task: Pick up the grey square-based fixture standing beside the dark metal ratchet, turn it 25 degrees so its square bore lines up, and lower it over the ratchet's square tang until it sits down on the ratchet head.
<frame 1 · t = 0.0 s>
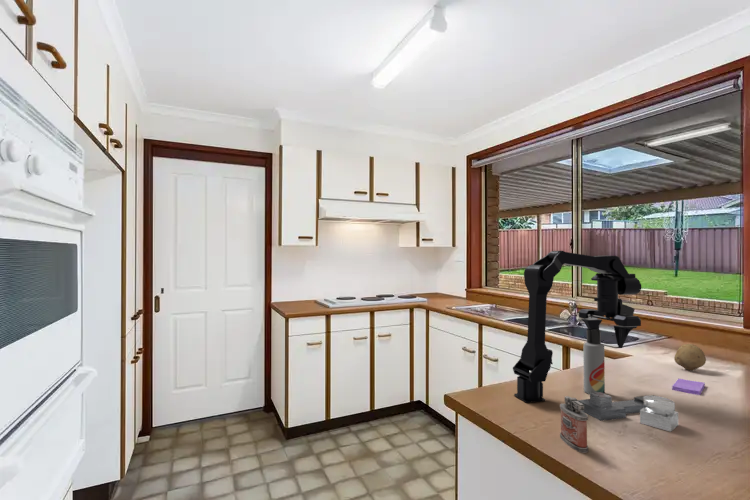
hand: (607, 344, 123), 15 cm above the table, fingers open, 9 cm apart
potato: (691, 371, 146), on the table
grey square-based fixture: (659, 423, 98), on the table
sponges: (688, 390, 126), on the table
lotion bottle: (594, 393, 121), on the table
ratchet: (600, 413, 105), on the table
lighter: (573, 444, 87), on the table
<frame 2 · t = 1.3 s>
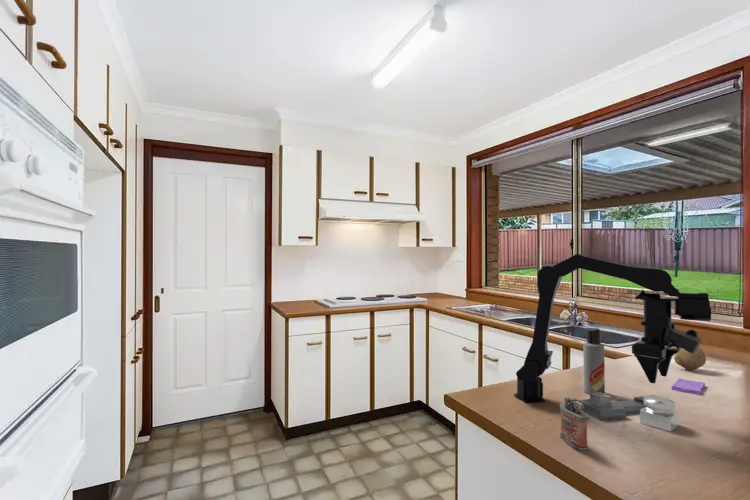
hand: (658, 379, 99), 11 cm above the table, fingers open, 9 cm apart
nothing on the table moved.
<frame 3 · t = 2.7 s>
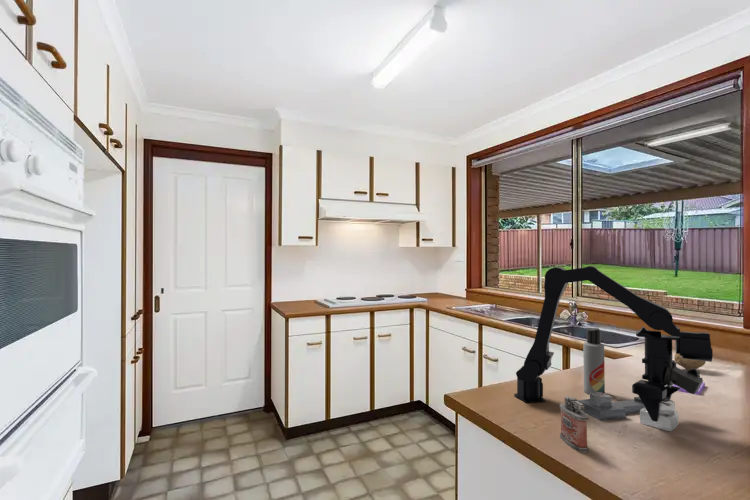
hand: (658, 417, 98), 2 cm above the table, fingers closed on grey square-based fixture, 6 cm apart
grey square-based fixture: (659, 423, 98), on the table, touching gripper
everything else where it was.
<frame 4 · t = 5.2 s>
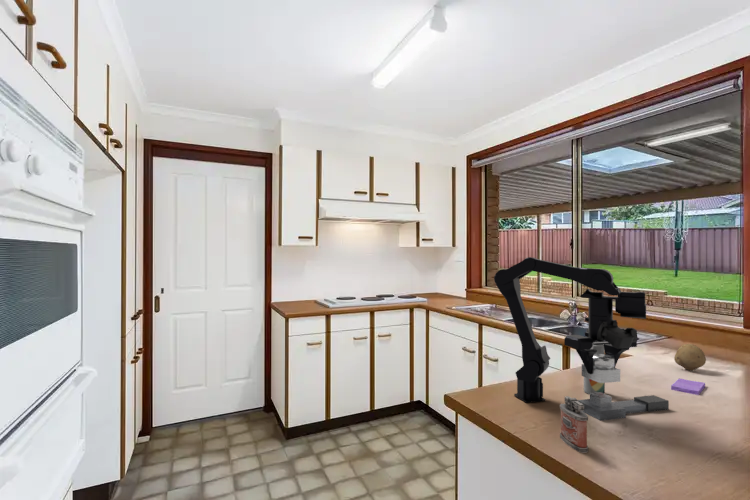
hand: (600, 372, 105), 11 cm above the table, fingers closed on grey square-based fixture, 6 cm apart
grey square-based fixture: (600, 378, 105), point 9 cm above the table, touching gripper
everything else where it was.
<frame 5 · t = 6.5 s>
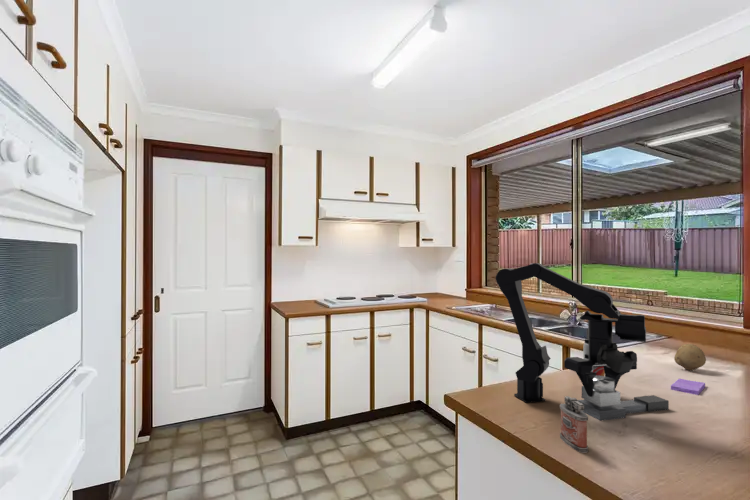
hand: (600, 395, 105), 5 cm above the table, fingers closed on grey square-based fixture, 6 cm apart
grey square-based fixture: (600, 401, 105), point 3 cm above the table, touching gripper
everything else where it was.
when the fingers open (4 cm above the table, at t = 7.8 s): grey square-based fixture stays where it is, resting on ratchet.
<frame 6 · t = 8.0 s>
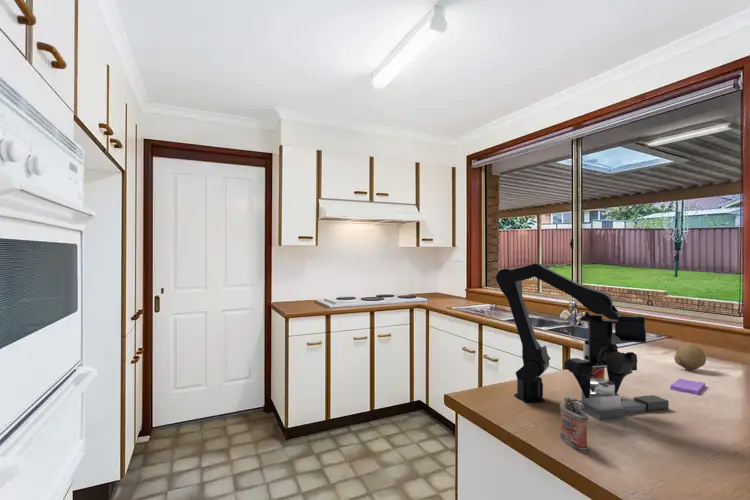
hand: (600, 396, 105), 4 cm above the table, fingers open, 8 cm apart
grey square-based fixture: (600, 404, 105), point 2 cm above the table, touching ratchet
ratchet: (600, 413, 105), on the table, touching grey square-based fixture
everything else where it was.
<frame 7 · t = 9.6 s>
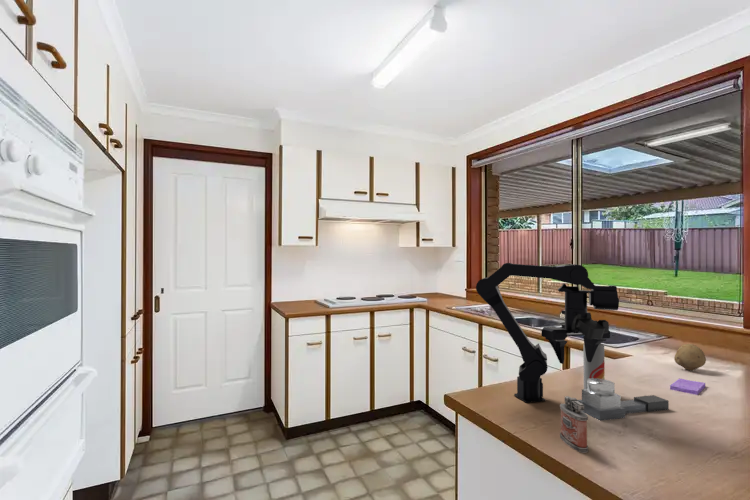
hand: (575, 362, 111), 12 cm above the table, fingers open, 9 cm apart
nothing on the table moved.
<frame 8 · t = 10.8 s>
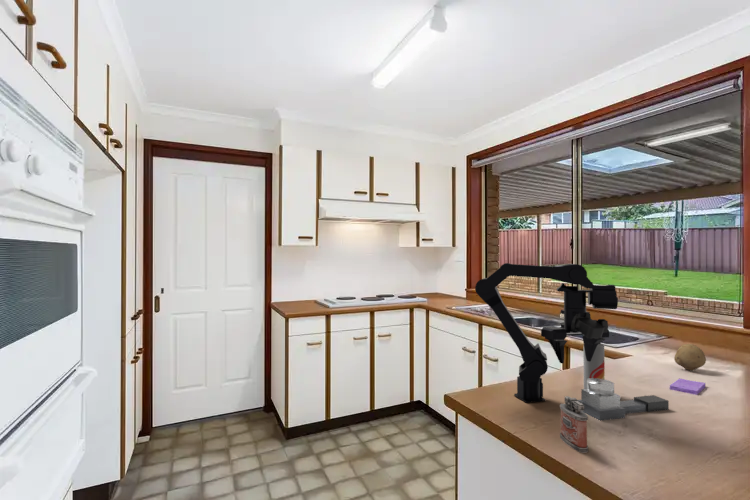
hand: (575, 362, 111), 12 cm above the table, fingers open, 9 cm apart
nothing on the table moved.
at the end: grey square-based fixture 0.0 cm off-centre on the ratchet, point 2.5 cm above the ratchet's base; grey square-based fixture tilted 0°; the gripper is holding nothing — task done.
